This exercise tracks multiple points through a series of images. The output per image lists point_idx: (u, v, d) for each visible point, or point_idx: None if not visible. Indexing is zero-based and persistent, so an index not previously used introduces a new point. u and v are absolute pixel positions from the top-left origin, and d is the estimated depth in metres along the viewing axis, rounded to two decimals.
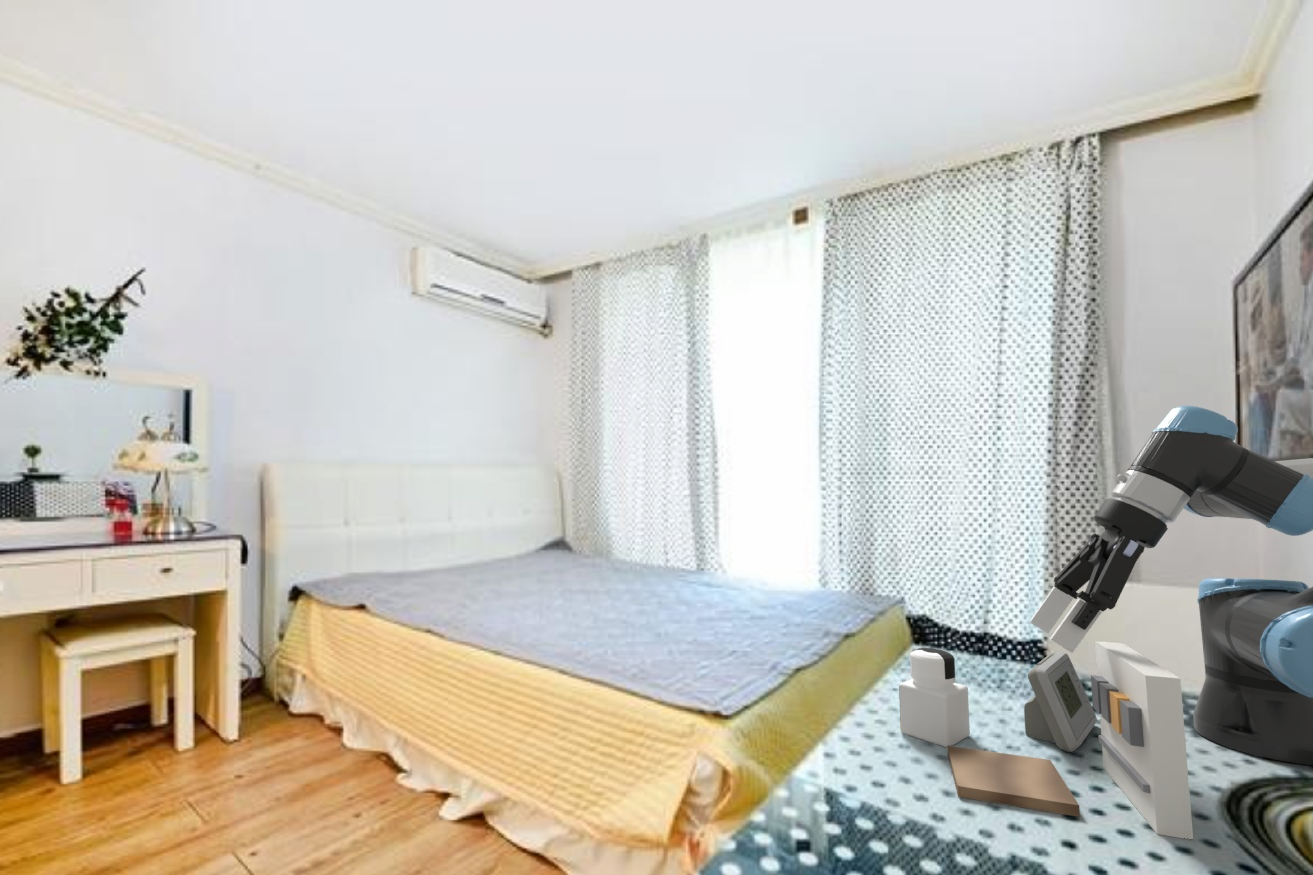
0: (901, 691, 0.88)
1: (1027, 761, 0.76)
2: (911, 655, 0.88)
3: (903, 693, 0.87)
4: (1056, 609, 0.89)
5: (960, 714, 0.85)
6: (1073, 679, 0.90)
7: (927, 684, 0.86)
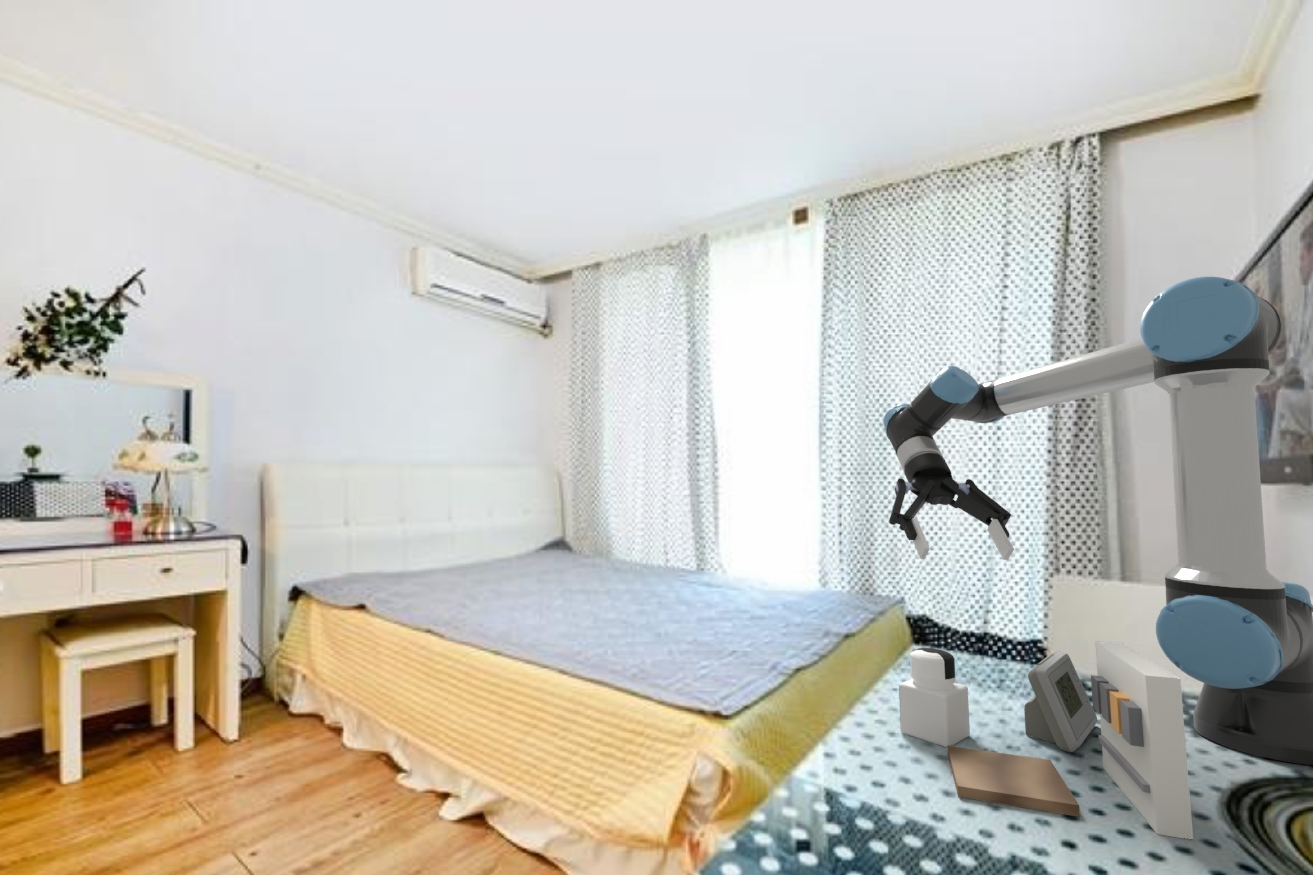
0: (901, 691, 0.88)
1: (1027, 761, 0.76)
2: (911, 655, 0.88)
3: (903, 693, 0.87)
4: (997, 535, 0.99)
5: (960, 714, 0.85)
6: (1073, 679, 0.90)
7: (927, 684, 0.86)
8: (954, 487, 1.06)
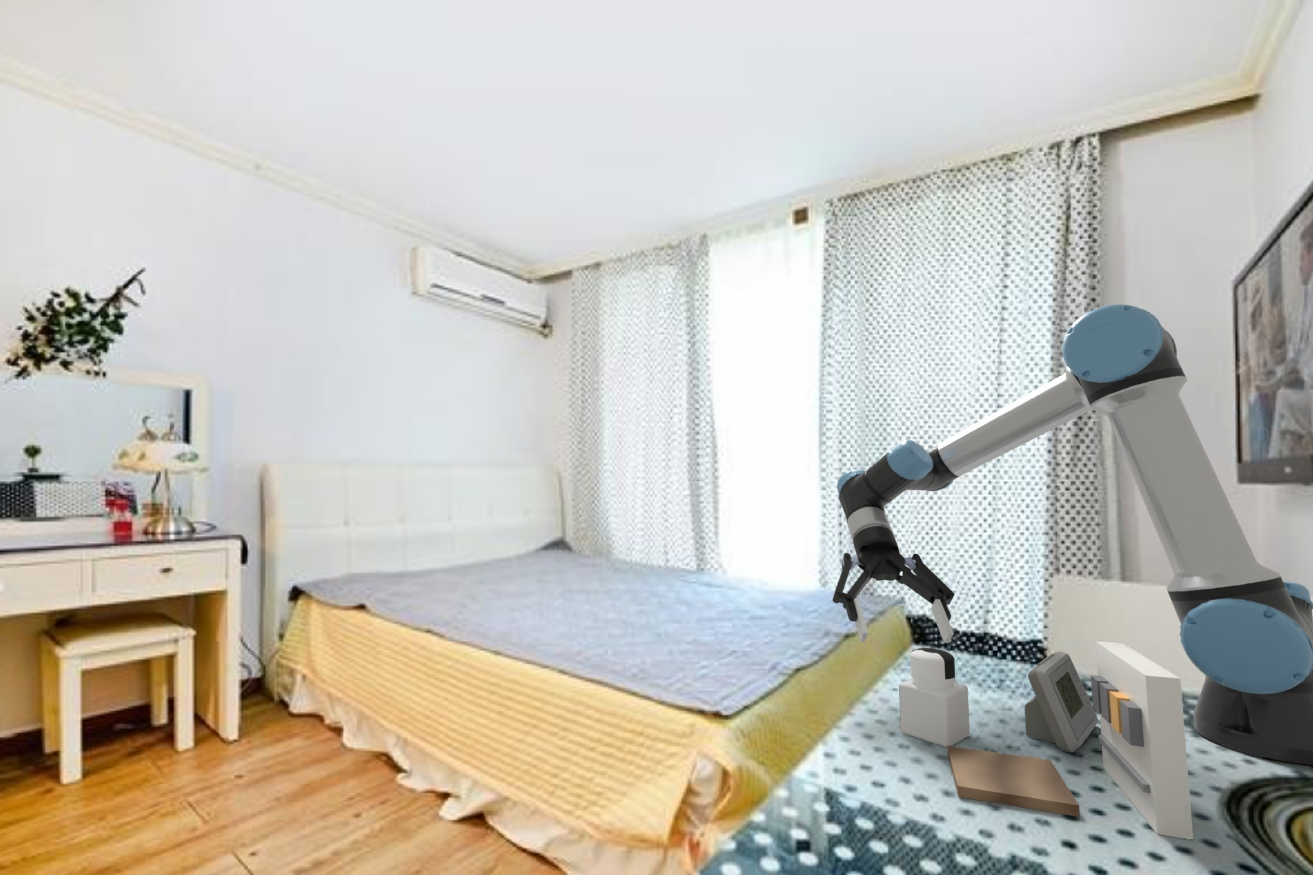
0: (901, 691, 0.88)
1: (1027, 761, 0.76)
2: (911, 655, 0.88)
3: (903, 693, 0.87)
4: (939, 616, 0.98)
5: (960, 714, 0.85)
6: (1074, 679, 0.90)
7: (927, 684, 0.86)
8: (899, 563, 1.05)
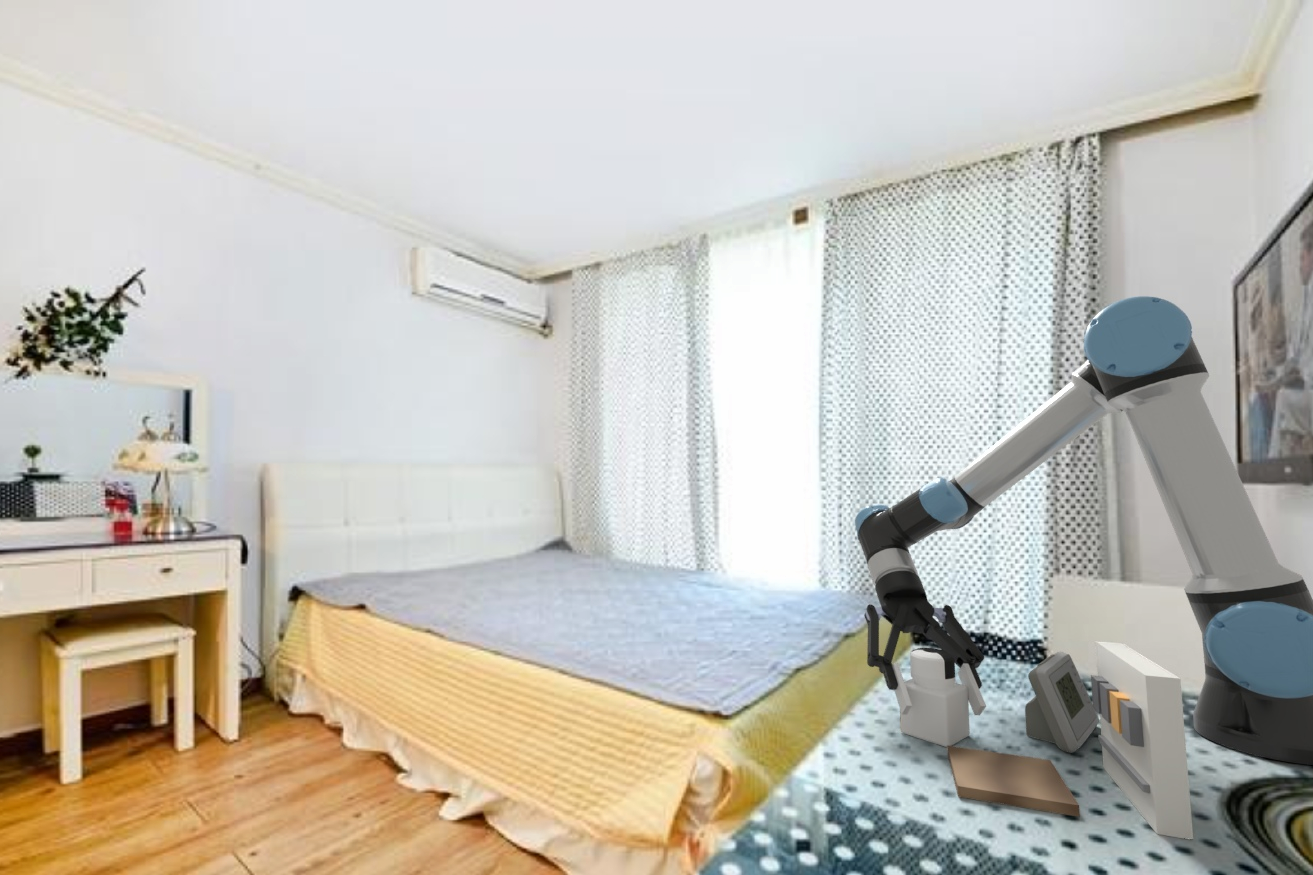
0: None
1: (1027, 761, 0.76)
2: (911, 655, 0.88)
3: None
4: (968, 684, 0.87)
5: (959, 714, 0.85)
6: (1075, 680, 0.90)
7: (927, 684, 0.86)
8: (927, 615, 0.94)
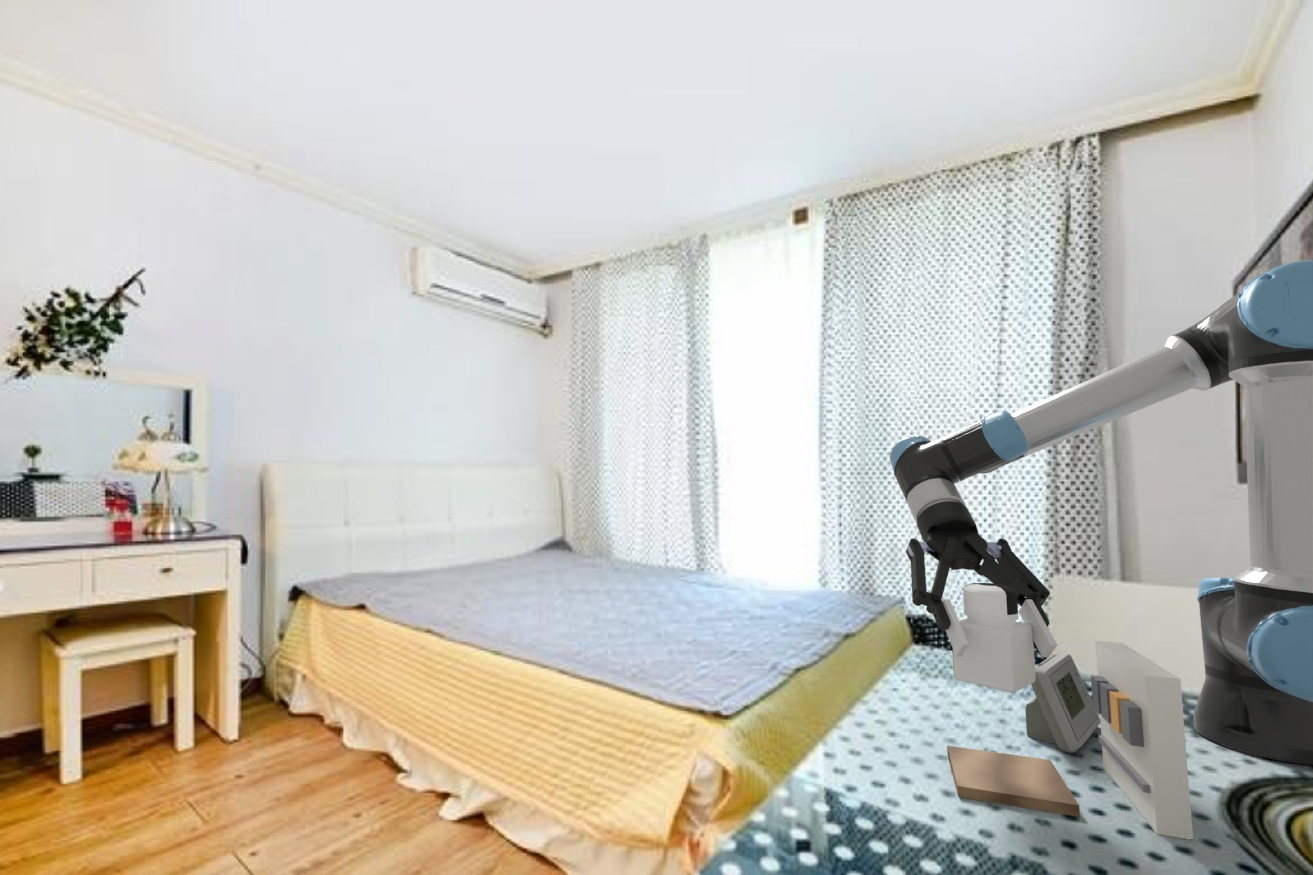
0: None
1: (1027, 761, 0.76)
2: (965, 590, 0.76)
3: None
4: (1033, 622, 0.74)
5: (1025, 656, 0.72)
6: (1076, 680, 0.90)
7: (986, 621, 0.73)
8: (980, 548, 0.82)
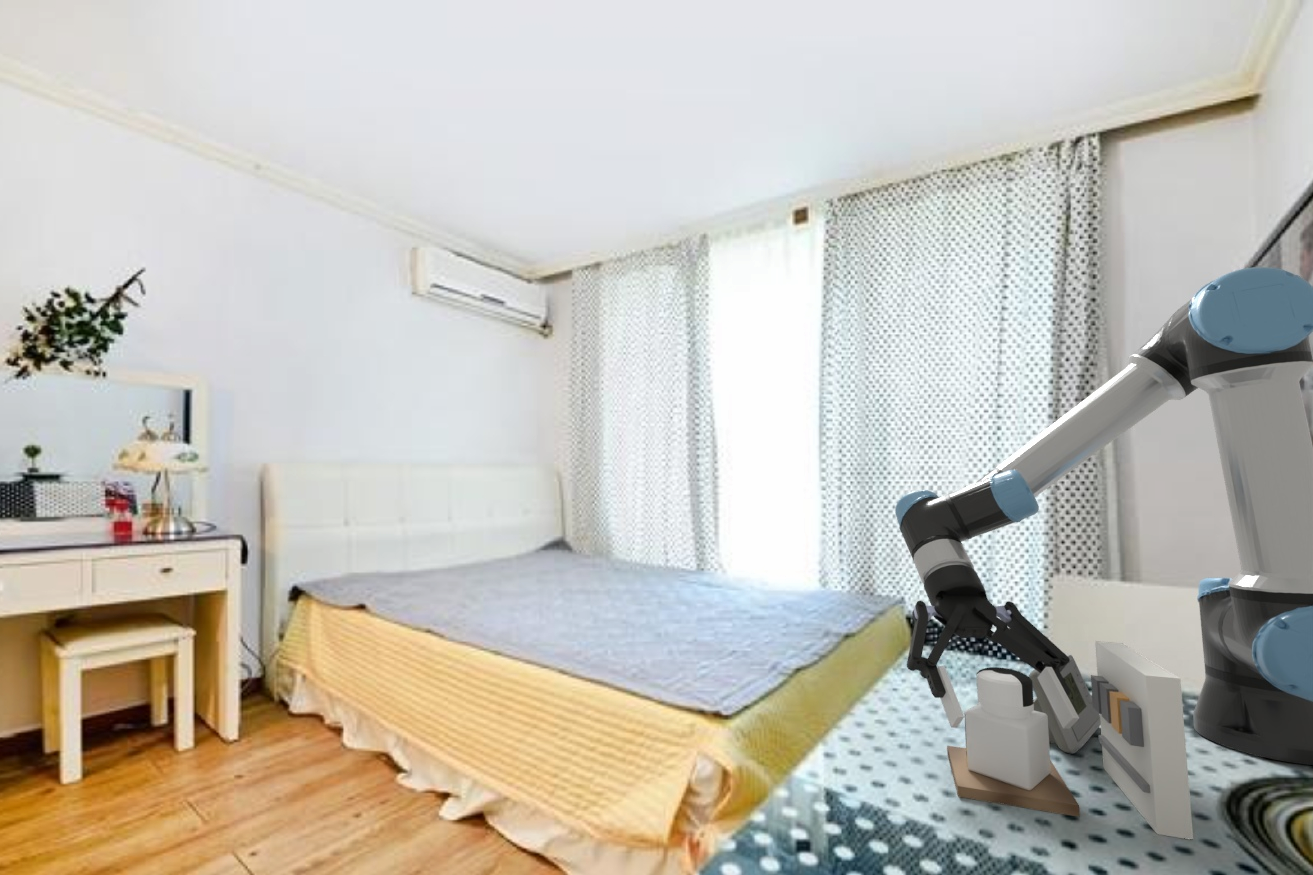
0: (967, 720, 0.73)
1: None
2: (979, 676, 0.74)
3: (970, 722, 0.73)
4: (1053, 691, 0.73)
5: (1040, 749, 0.70)
6: (1077, 681, 0.89)
7: (1001, 712, 0.71)
8: (991, 615, 0.80)
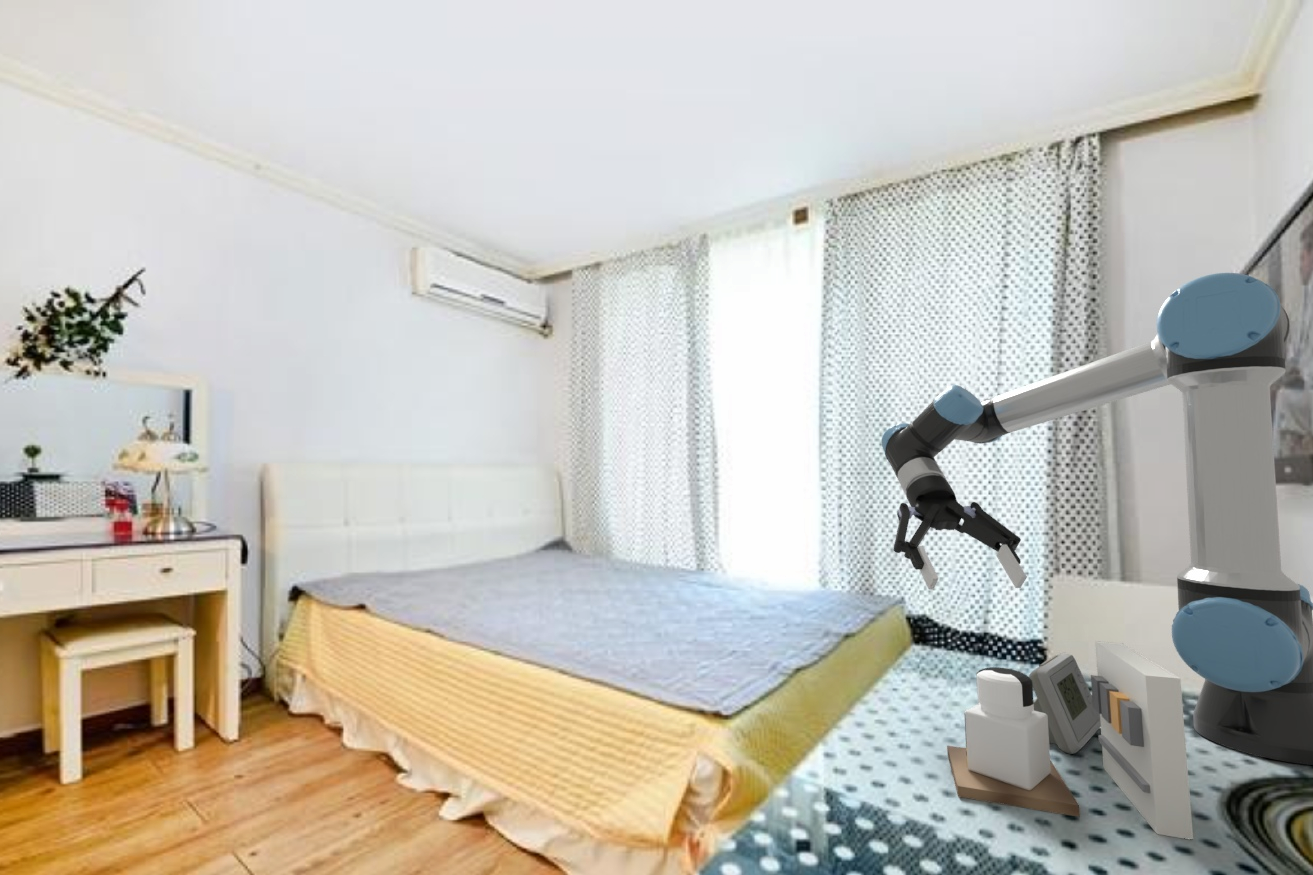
0: (967, 720, 0.73)
1: None
2: (979, 676, 0.74)
3: (970, 722, 0.73)
4: (1008, 561, 0.94)
5: (1040, 749, 0.70)
6: (1078, 681, 0.89)
7: (1001, 712, 0.71)
8: (959, 511, 1.01)
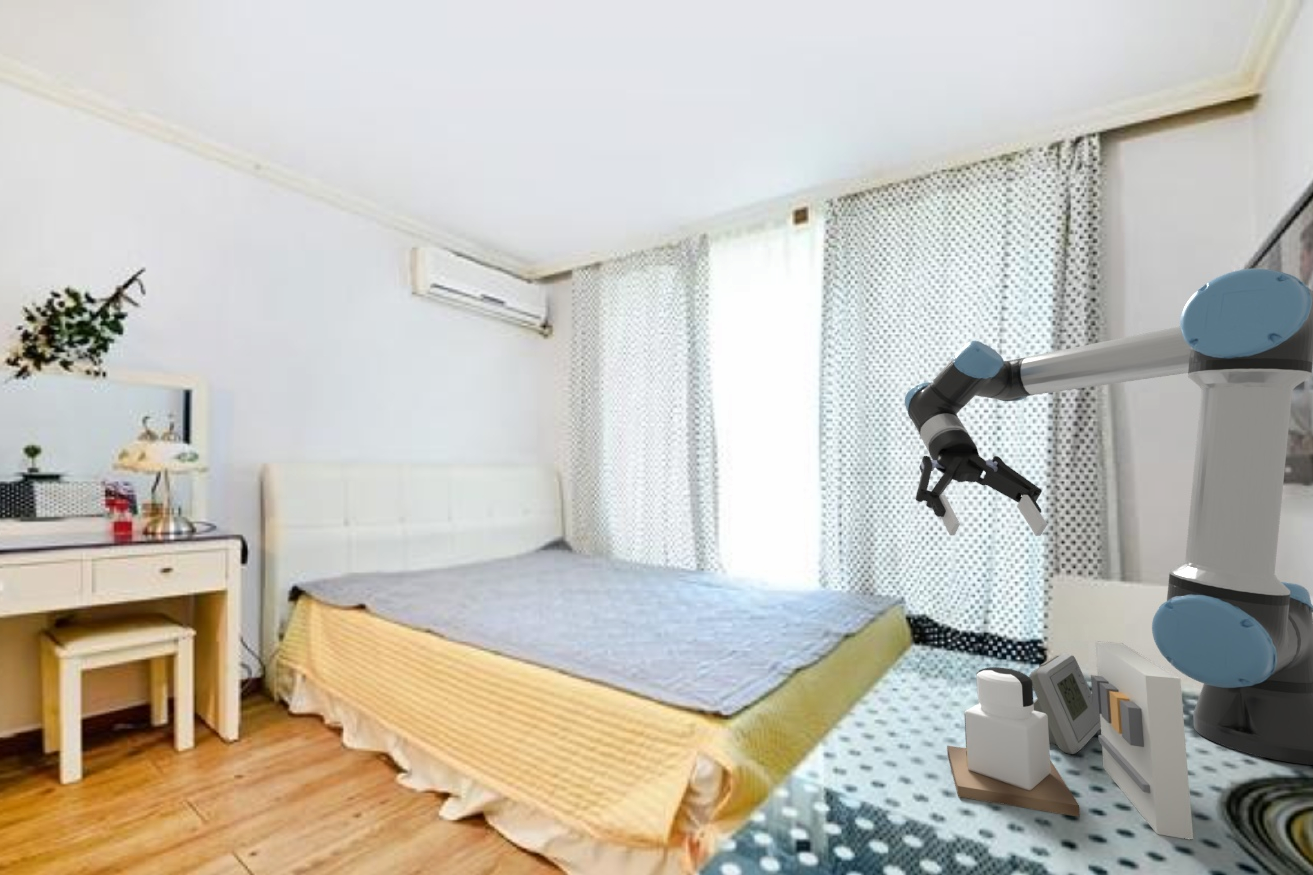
0: (967, 720, 0.73)
1: None
2: (979, 676, 0.74)
3: (970, 722, 0.73)
4: (1028, 510, 0.96)
5: (1040, 749, 0.70)
6: (1079, 681, 0.89)
7: (1001, 712, 0.71)
8: (982, 464, 1.03)
